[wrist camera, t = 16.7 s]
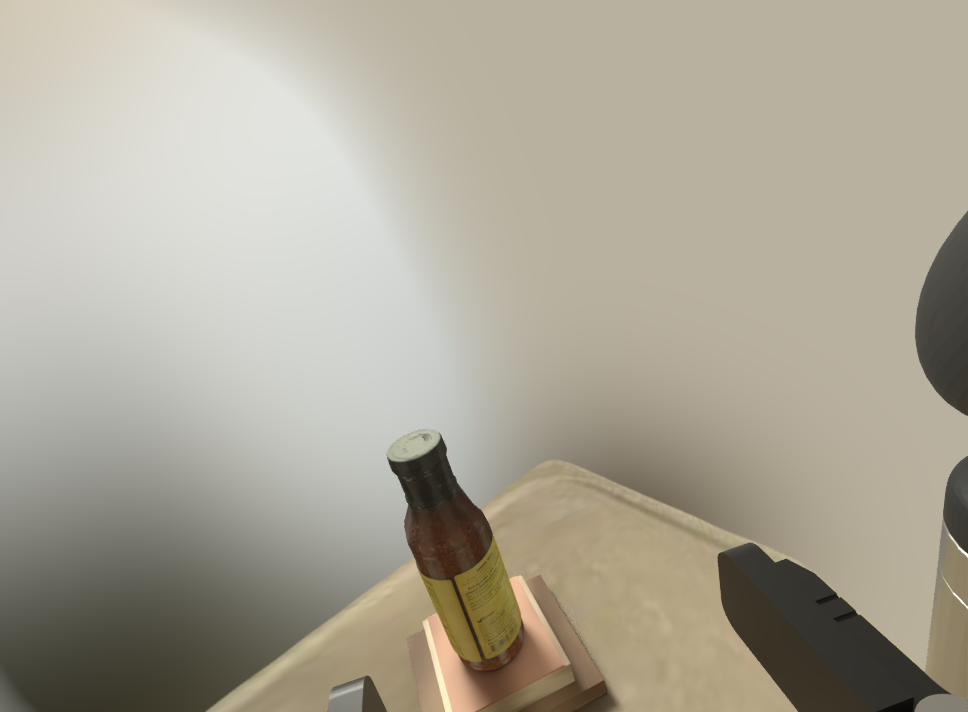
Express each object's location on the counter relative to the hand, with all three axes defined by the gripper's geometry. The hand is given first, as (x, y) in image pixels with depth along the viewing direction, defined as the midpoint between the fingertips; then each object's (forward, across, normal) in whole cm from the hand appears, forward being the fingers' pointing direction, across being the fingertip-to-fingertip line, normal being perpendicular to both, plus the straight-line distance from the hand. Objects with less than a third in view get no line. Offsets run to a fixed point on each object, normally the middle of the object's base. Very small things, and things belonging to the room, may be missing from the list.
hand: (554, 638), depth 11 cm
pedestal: (+23, +4, +30) cm, 38 cm away
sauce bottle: (+23, +4, +26) cm, 35 cm away
